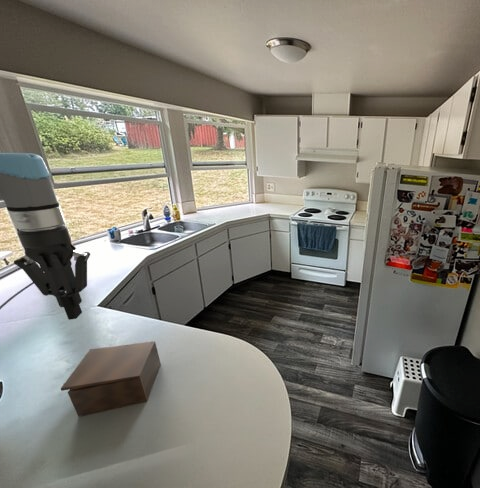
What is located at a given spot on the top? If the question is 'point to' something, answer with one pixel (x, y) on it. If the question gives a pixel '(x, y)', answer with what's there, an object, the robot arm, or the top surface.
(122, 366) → the bin lid
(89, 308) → the top surface
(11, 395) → the top surface
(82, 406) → the bin
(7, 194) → the robot arm
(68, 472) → the top surface
